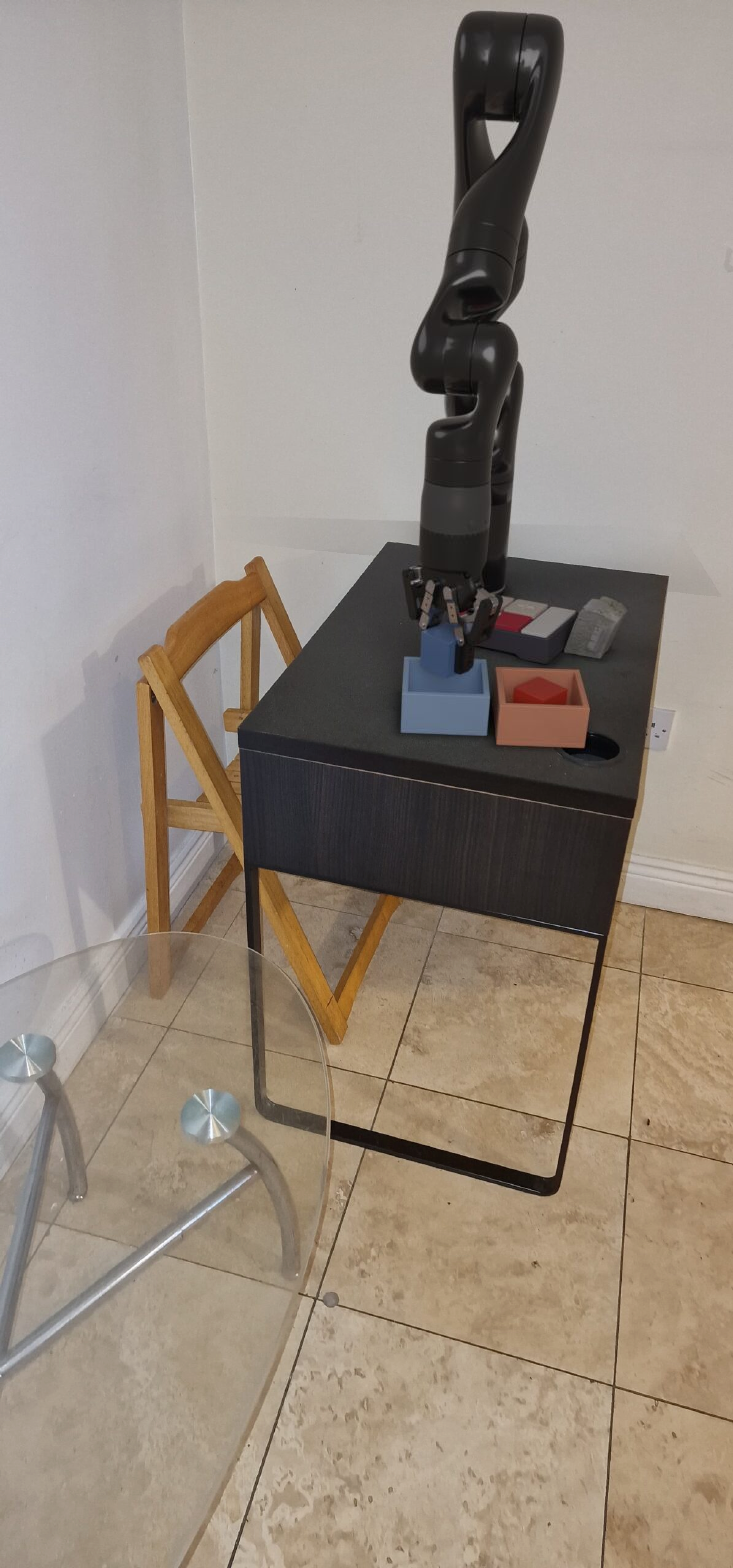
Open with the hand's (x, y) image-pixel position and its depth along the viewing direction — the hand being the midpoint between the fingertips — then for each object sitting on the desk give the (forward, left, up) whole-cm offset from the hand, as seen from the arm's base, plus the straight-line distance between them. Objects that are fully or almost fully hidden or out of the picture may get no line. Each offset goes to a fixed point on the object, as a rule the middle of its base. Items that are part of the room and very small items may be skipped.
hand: (446, 664), depth 119 cm
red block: (+2, +11, -6) cm, 13 cm away
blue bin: (0, 0, -7) cm, 7 cm away
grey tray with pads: (-23, +10, -7) cm, 26 cm away
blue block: (0, 0, 0) cm, 0 cm away
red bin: (+2, +11, -7) cm, 13 cm away
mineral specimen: (-19, +20, -7) cm, 29 cm away
